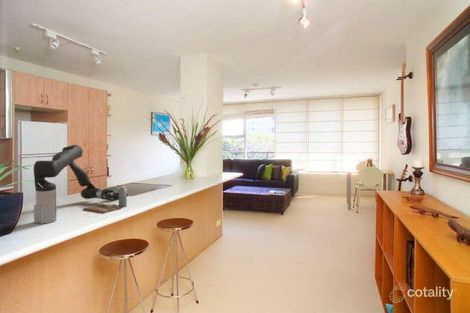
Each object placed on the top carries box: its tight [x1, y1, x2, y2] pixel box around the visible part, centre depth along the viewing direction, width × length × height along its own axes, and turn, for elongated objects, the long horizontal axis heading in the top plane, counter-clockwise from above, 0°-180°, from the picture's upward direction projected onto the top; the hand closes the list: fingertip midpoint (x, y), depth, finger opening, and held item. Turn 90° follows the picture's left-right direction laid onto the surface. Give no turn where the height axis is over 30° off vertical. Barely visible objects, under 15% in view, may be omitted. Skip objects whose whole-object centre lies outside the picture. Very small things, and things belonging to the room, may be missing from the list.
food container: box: [108, 184, 122, 202], centre depth 211 cm, size 12×6×10 cm, turn 168°
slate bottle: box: [118, 185, 128, 208], centre depth 189 cm, size 5×5×14 cm
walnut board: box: [82, 203, 122, 214], centre depth 180 cm, size 14×18×1 cm
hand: (122, 196), depth 189 cm, fingers open, 8 cm apart
